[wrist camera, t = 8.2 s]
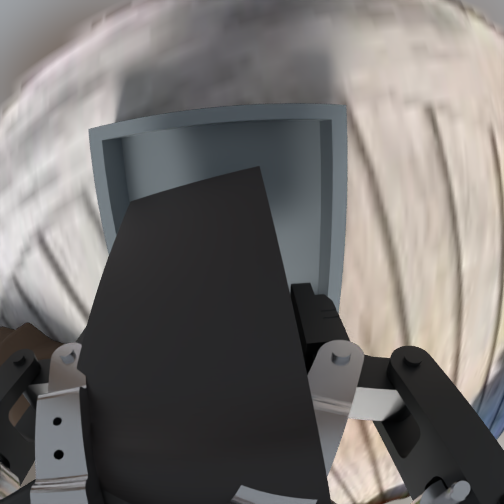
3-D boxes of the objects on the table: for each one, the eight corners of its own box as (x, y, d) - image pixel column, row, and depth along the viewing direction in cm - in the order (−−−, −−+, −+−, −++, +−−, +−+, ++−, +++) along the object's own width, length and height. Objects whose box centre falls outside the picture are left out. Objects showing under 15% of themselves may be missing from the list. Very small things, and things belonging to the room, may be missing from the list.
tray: (328, 109, 16) (346, 104, 13) (323, 323, 22) (333, 353, 19) (114, 127, 17) (88, 129, 13) (152, 330, 23) (140, 359, 19)
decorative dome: (157, 439, 30) (143, 506, 21) (49, 425, 31) (27, 472, 22) (78, 316, 23) (23, 396, 13) (-23, 324, 24) (-65, 371, 15)
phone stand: (133, 198, 13) (-76, 386, 2) (260, 164, 12) (338, 423, 1) (192, 349, 16) (153, 554, 5) (295, 330, 16) (335, 553, 5)
